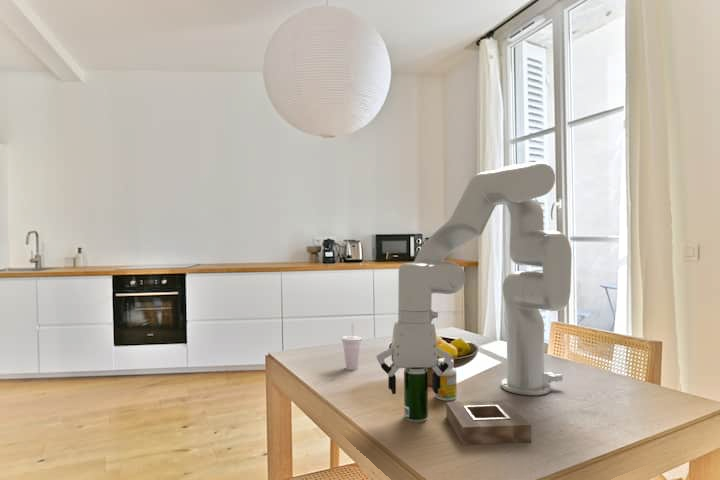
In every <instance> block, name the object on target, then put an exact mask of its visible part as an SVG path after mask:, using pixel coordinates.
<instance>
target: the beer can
mask: <svg viewBox="0 0 720 480" xmlns="http://www.w3.org/2000/svg"><path fill="white" fill-rule="evenodd" d="M403 369H404V370H403V403H404V404H403V407H404V408H403V409H404V411H403V415H404V417H405V420H406V421H408V422H410V423H416V424H417V423H424V422H426V421H427V419H428V417H429V395H428V394H429V393H428V392H429V387H428V385H429V384H428V383H429V382H428V381H429V380H428V379H429V377H428V374H429V373H428V368H403Z"/></svg>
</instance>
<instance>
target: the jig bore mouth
mask: <svg viewBox="0 0 720 480" xmlns="http://www.w3.org/2000/svg"><path fill="white" fill-rule="evenodd" d="M463 407H464V408H465V410H466V411H467V412H468V414H469V415H470V416H471V418H472V419H473V421H477V420H506V419H510V417H509V416H508V415H507V414H506V413H505V412H504V411H503V410H502V409H501V408H500V407H499V406H498V405H474V406H463ZM472 407H497V409H498V410H499V411H500V412H501V413H502V414H503V415H504V416H505V417H503V418H475V417H474V416H473V414H472V413H471V412H470V410H469V409H468V408H472Z"/></svg>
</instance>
